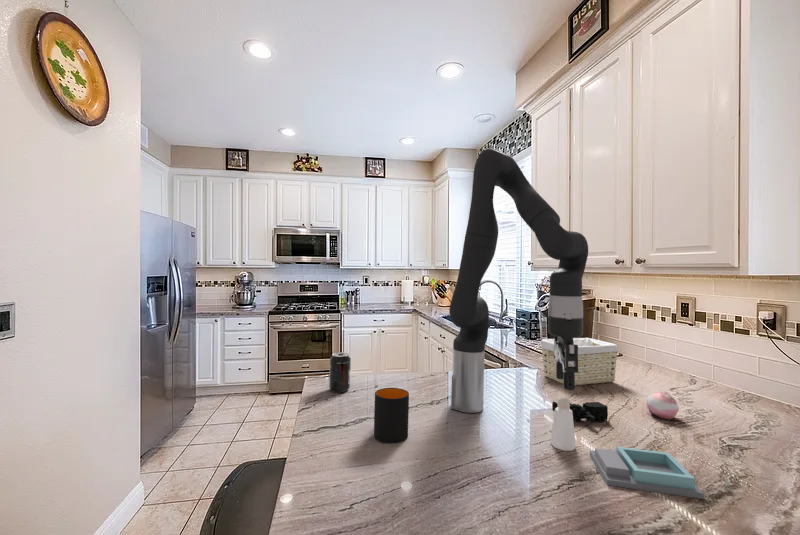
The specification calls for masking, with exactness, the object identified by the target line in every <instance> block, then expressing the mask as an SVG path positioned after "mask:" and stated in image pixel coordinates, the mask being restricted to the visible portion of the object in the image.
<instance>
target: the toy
mask: <svg viewBox="0 0 800 535" xmlns="http://www.w3.org/2000/svg"><path fill="white" fill-rule="evenodd" d="M551 405H552V408H551V410H552V411H553V412H555V408H557V407H558V402H556V401H552V404H551ZM608 407H609V406H607V405H605V404H603V403H601V402H599V401H590V402H589V401H588V402H583V403H582V405H581V404H577V403H572V402H570V410H571V411H572V413H573V420H575V422H576V423H580V422H582V419H583V420H584V419H585V421H587V422H591V423H593V424H594V423H604V422H606V420H608V416H609V412H608V411H609V410H608Z"/></svg>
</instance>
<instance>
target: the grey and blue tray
mask: <svg viewBox="0 0 800 535" xmlns="http://www.w3.org/2000/svg"><path fill="white" fill-rule="evenodd" d="M615 449H616V450H613V449H605V448H598V447H594V450H589V456H590V458H591V459H592V461H593V463H594V465H595V467H596V468H597V470H598V472H599V473H600V476H601V477H602V479H603V481H604V482H605V484H606V485H607V486H611V487H612V486H613V487H620V488H626V489H633V490H639V491H645V492H646V491H647V492H653V493H661V494H667V495H673V496H674V495H675V496H681V497H688V498H693V499H694V498H695V499H699V500H700V499H701V500H705V492H703V490H701V489H700V488H699V487H698V485H696V478H695V477H694V475H692V474H691V473H690V472H689V471H688V470H687V469H686V468H685V467H683V465H682V464H681V463H679V462H678V460H677V459H675V457H674V456H673V455H671V454H670V452H665V451H657V450H647V449H640V448H633V447H632V448H631V447H624V446H615Z"/></svg>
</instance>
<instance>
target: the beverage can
mask: <svg viewBox="0 0 800 535" xmlns="http://www.w3.org/2000/svg"><path fill="white" fill-rule="evenodd" d="M351 361H352V359H351V356H350V353H349V352H344V351H342V352H341V351H338V352H333V353H332V354H331V357H330V358H329V378H328V380H329V381H328V382H329V383H328V384H329V385H328V387H329V390H330V391H332V392H333V393H336V394H337V393H339V394H340V393H346V392H347V391H348V390H349V389H350V388H351V368H352V366H351V365H352V364H351Z"/></svg>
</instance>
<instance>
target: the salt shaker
mask: <svg viewBox="0 0 800 535" xmlns="http://www.w3.org/2000/svg"><path fill="white" fill-rule="evenodd" d="M556 400H557V404H558V407H557V408H555V412H554V411H553V412H554V413H553V419H552V420H553V421H552V422H553V423H552V429H551V437H550V444H551V445H552V446H553V447H554V448H555V449H558V450H561V451H562V452H563V451H565V452H567V451H570V452H572V451H573V450H575V449H576V448H577V447H576V436H575V425H574V419H573V413H572V411H571V410H570V403H571V400H570V398H567V397H564V396H559V397H557V399H556Z"/></svg>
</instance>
